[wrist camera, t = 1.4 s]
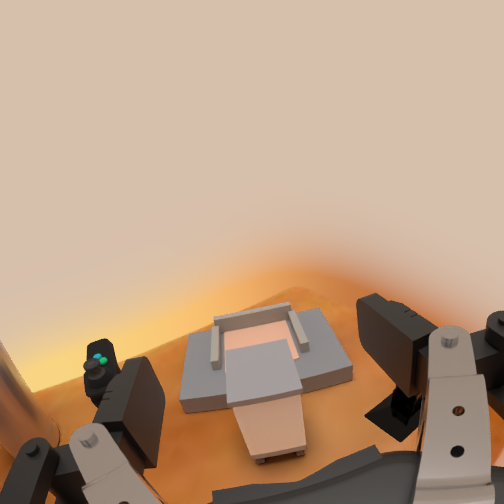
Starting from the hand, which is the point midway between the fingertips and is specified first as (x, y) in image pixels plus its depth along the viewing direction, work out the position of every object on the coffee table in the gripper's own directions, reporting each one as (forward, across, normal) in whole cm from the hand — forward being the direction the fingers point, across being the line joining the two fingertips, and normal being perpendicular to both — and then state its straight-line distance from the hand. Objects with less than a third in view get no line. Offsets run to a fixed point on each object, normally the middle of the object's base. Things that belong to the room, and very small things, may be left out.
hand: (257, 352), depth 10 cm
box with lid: (+11, 0, +19) cm, 22 cm away
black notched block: (+10, -14, +20) cm, 26 cm away
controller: (+20, +19, +17) cm, 33 cm away
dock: (+24, 0, +18) cm, 30 cm away
